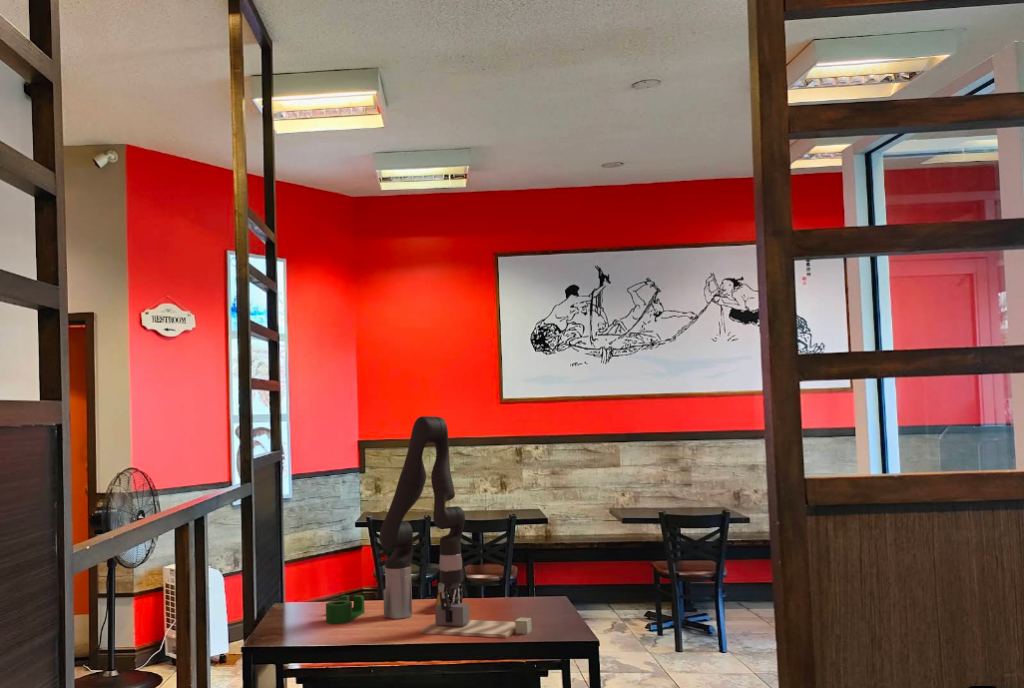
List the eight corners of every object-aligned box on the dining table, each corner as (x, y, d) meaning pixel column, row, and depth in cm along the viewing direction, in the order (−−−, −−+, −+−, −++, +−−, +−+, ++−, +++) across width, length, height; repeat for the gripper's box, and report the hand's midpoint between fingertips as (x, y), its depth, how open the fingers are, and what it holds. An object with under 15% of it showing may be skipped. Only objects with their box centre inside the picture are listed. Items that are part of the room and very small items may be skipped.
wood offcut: (515, 633, 252) (515, 620, 252) (519, 630, 255) (519, 617, 256) (527, 634, 250) (526, 621, 251) (531, 631, 254) (531, 618, 255)
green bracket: (346, 624, 274) (346, 605, 275) (322, 624, 275) (321, 605, 276) (364, 612, 292) (364, 595, 292) (341, 613, 293) (340, 595, 294)
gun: (459, 624, 304) (463, 584, 311) (439, 612, 283) (443, 570, 290) (451, 624, 305) (455, 584, 312) (430, 612, 284) (435, 570, 291)
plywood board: (420, 633, 257) (419, 630, 257) (441, 621, 272) (441, 618, 272) (506, 637, 246) (506, 634, 246) (523, 625, 261) (523, 622, 261)
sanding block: (435, 624, 261) (435, 606, 262) (442, 621, 266) (441, 603, 266) (463, 626, 258) (462, 607, 258) (469, 622, 262) (468, 603, 263)
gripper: (449, 564, 272) (451, 615, 270) (431, 571, 258) (432, 625, 256) (469, 564, 269) (471, 615, 267) (452, 571, 256) (453, 626, 254)
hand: (452, 620), depth 262 cm, fingers closed on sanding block, 5 cm apart
